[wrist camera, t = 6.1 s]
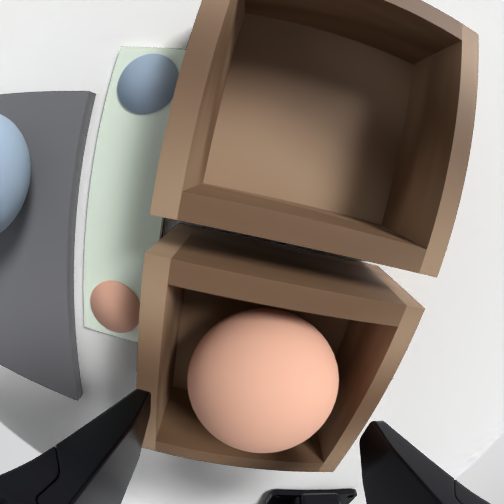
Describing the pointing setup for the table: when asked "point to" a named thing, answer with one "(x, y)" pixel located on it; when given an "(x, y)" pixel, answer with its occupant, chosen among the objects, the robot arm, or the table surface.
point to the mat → (44, 241)
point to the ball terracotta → (263, 380)
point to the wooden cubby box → (275, 297)
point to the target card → (126, 187)
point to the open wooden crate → (324, 126)
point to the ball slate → (12, 171)
